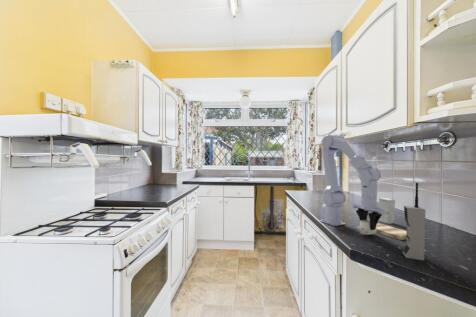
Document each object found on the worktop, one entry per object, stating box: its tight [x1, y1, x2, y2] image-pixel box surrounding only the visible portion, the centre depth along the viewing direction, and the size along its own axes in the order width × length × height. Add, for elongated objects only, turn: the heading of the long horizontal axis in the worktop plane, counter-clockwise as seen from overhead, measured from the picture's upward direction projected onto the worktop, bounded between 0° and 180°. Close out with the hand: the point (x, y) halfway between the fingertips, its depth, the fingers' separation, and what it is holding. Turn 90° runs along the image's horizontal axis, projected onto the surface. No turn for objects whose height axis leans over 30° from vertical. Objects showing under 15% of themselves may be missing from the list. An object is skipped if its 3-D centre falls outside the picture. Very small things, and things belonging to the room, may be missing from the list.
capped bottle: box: [356, 218, 378, 236], centre depth 100 cm, size 4×10×5 cm, turn 114°
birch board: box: [376, 222, 407, 241], centre depth 104 cm, size 16×10×2 cm, turn 24°
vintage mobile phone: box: [402, 182, 426, 261], centre depth 78 cm, size 4×5×25 cm
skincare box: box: [378, 197, 396, 225], centre depth 121 cm, size 6×4×12 cm
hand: (368, 228), depth 100 cm, fingers closed on capped bottle, 4 cm apart
